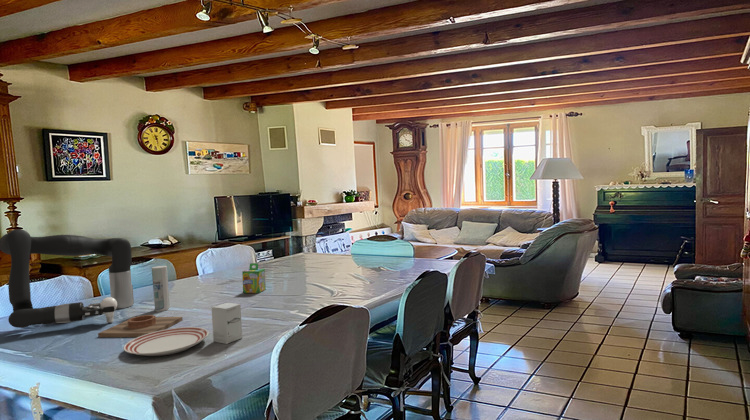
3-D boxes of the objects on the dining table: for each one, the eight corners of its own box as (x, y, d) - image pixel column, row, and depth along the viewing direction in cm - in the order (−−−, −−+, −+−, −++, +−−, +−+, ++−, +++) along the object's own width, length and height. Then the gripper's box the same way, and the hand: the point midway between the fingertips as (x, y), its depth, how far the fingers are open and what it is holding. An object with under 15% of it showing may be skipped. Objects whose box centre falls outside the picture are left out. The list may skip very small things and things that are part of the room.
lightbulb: (105, 321, 208) (104, 296, 207) (121, 320, 208) (119, 295, 208) (98, 325, 201) (96, 299, 201) (114, 324, 202) (112, 298, 201)
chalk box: (242, 293, 251) (241, 265, 250) (250, 289, 260) (248, 262, 259) (259, 293, 249) (257, 264, 249) (266, 289, 258) (264, 261, 258)
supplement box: (227, 344, 169) (224, 308, 168) (212, 341, 173) (210, 306, 172) (243, 338, 175) (241, 303, 174) (229, 335, 179) (226, 301, 178)
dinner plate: (124, 368, 151) (123, 357, 151) (123, 344, 175) (123, 335, 175) (215, 350, 163) (214, 340, 163) (203, 330, 188) (202, 322, 188)
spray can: (151, 311, 222) (148, 267, 221) (162, 307, 228) (159, 265, 227) (162, 311, 220) (159, 268, 219) (173, 308, 226) (170, 265, 225)
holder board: (134, 320, 207) (133, 311, 206) (182, 320, 204) (181, 310, 203) (98, 337, 185) (97, 326, 185) (151, 336, 182) (151, 326, 182)
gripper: (65, 307, 192) (112, 301, 199) (72, 300, 205) (116, 295, 212) (66, 326, 193) (114, 319, 199) (73, 317, 206) (117, 311, 212)
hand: (115, 307), depth 205 cm, fingers closed on lightbulb, 6 cm apart
